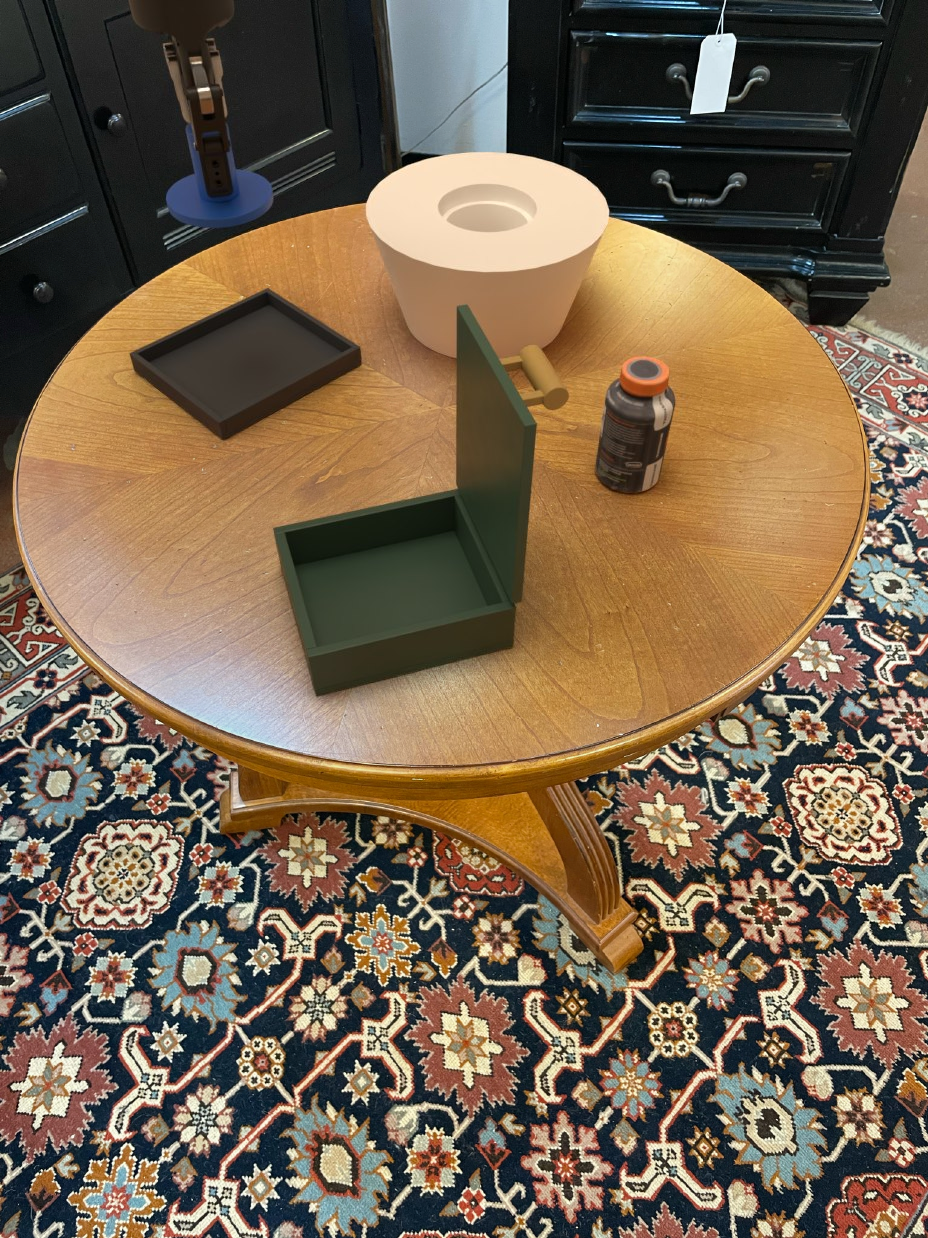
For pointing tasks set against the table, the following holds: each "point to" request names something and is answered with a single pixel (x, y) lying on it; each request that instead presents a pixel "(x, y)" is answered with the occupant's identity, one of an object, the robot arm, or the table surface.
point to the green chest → (392, 590)
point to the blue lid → (227, 211)
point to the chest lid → (499, 442)
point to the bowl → (486, 245)
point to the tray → (245, 361)
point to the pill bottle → (635, 426)
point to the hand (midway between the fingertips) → (216, 182)
